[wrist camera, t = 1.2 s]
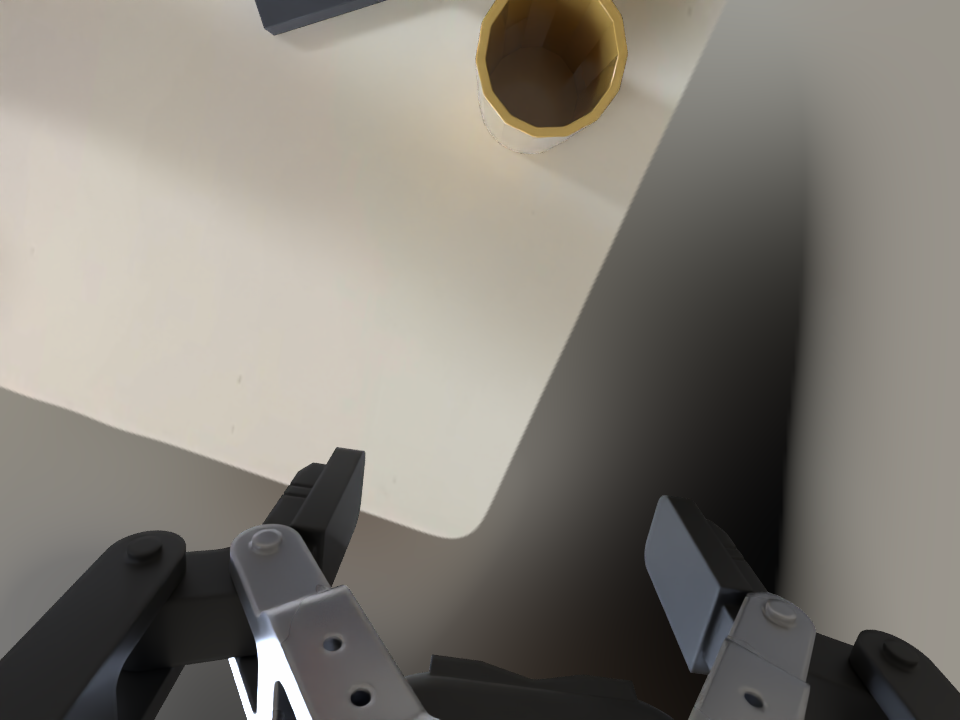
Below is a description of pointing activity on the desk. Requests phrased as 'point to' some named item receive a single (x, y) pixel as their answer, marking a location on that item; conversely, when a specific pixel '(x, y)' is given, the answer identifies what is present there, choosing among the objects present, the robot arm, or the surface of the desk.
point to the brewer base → (303, 12)
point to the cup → (547, 69)
